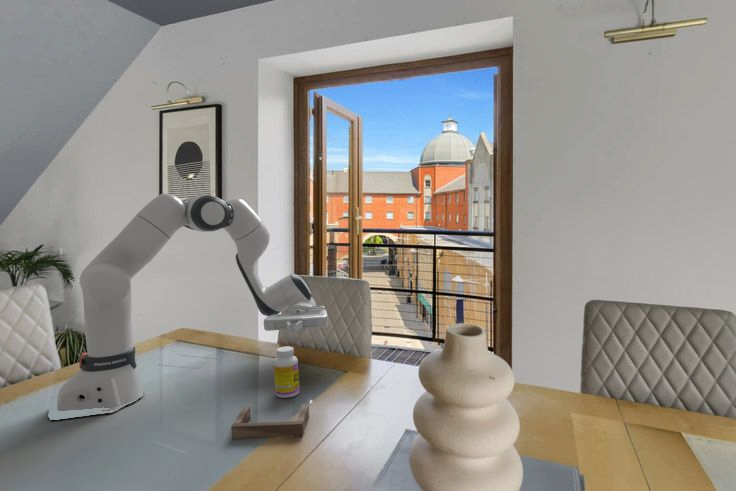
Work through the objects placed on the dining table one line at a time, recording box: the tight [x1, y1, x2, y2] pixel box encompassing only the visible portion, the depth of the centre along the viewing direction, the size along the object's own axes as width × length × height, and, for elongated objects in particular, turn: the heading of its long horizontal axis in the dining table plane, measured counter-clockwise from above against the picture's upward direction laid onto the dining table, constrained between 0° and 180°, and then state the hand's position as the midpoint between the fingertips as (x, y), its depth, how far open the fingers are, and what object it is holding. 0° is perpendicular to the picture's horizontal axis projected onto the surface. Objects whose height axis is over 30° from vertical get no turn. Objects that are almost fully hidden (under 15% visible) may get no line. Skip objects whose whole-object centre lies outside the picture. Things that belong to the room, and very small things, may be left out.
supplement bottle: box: [273, 346, 300, 399], centre depth 122 cm, size 7×7×13 cm
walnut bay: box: [230, 403, 310, 440], centre depth 104 cm, size 10×16×3 cm, turn 90°
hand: (292, 328), depth 133 cm, fingers closed
